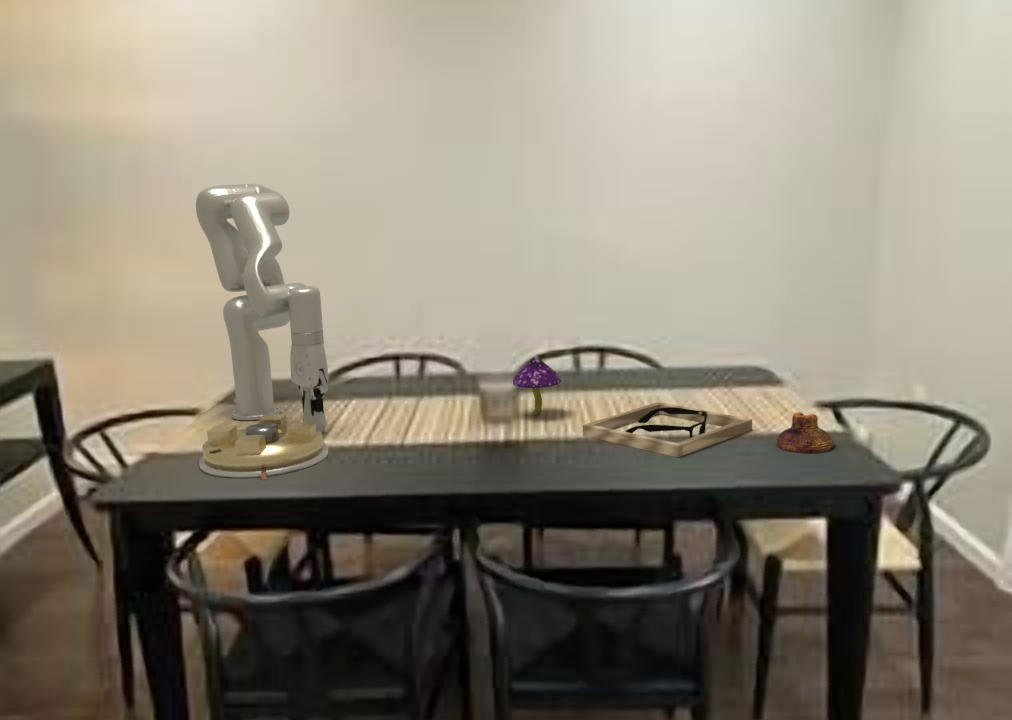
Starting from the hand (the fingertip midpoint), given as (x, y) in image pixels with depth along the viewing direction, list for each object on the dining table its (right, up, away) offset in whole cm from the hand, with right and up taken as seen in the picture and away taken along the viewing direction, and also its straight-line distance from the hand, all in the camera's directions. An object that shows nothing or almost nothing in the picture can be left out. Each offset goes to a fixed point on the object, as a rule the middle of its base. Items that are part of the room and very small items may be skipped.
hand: (313, 412), depth 243 cm
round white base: (-7, -9, -18) cm, 22 cm away
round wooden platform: (-7, -8, -19) cm, 22 cm away
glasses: (+83, -5, -13) cm, 84 cm away
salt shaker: (0, -5, +1) cm, 5 cm away
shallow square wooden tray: (+83, -4, -13) cm, 84 cm away
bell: (+111, -6, -27) cm, 114 cm away
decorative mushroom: (+54, -1, +8) cm, 55 cm away
